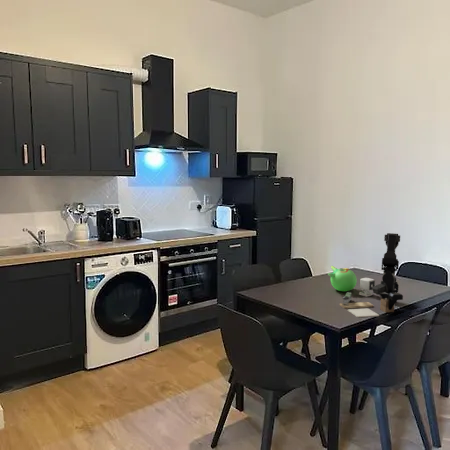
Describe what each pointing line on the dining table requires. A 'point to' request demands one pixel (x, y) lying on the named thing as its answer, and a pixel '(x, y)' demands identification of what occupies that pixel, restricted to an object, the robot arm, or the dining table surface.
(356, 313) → the trivet
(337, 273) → the toy bird
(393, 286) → the robot arm
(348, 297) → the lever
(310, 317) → the dining table surface
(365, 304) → the plane block
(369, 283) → the security camera
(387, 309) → the cap block
